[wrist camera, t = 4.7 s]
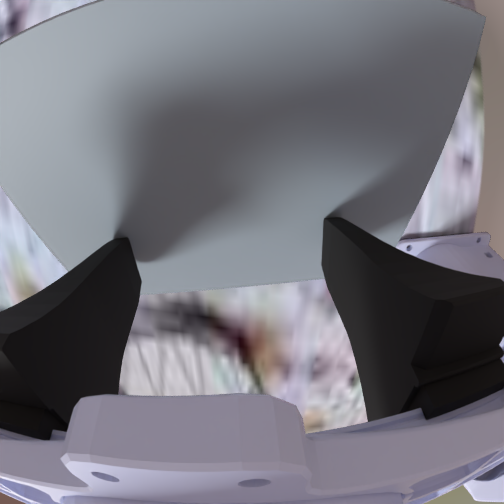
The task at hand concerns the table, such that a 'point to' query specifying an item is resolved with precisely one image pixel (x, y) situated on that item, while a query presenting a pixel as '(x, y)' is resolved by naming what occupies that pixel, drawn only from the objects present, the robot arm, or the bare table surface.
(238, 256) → the lid
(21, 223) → the table surface
